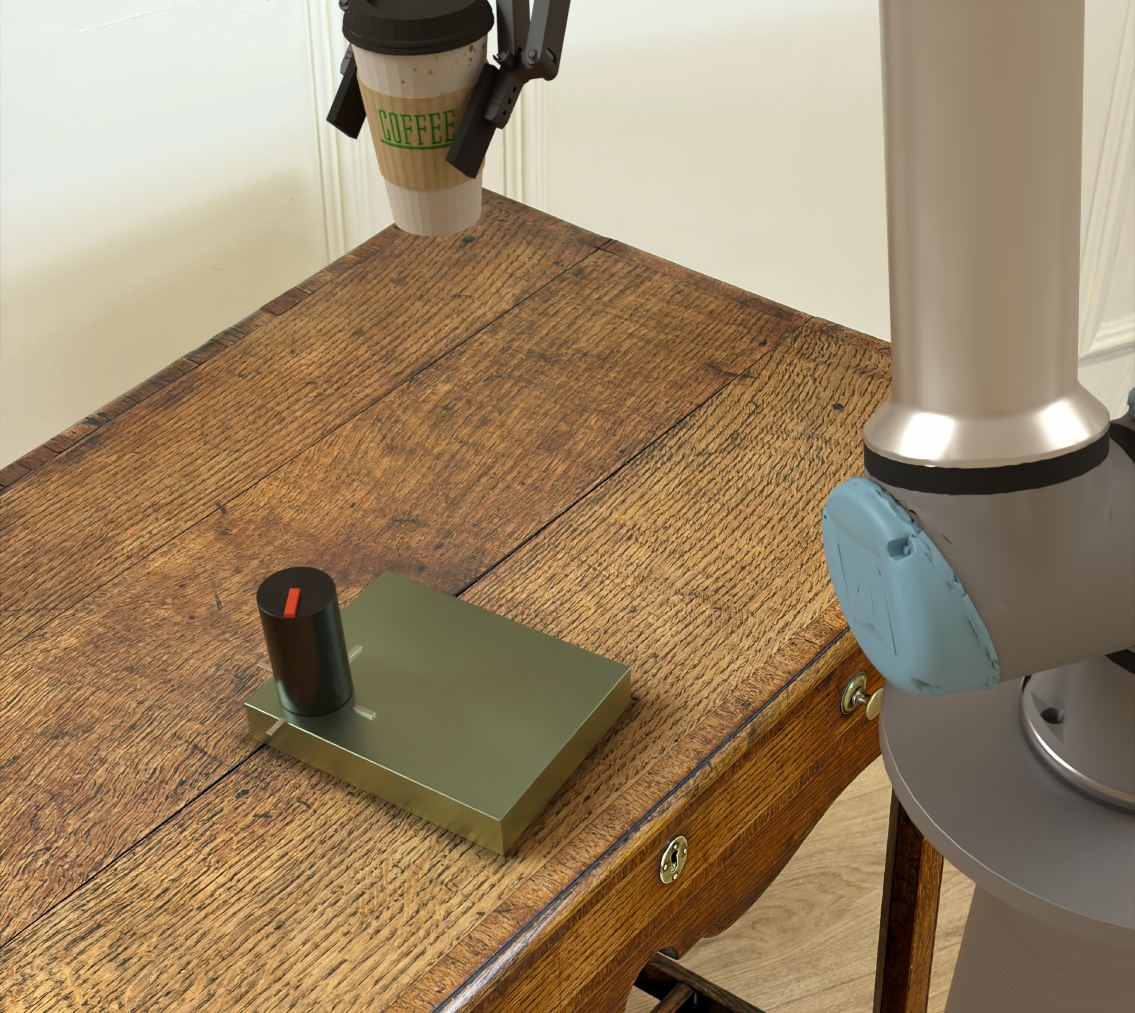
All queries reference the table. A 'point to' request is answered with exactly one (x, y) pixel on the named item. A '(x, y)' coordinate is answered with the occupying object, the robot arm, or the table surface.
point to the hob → (452, 711)
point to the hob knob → (305, 640)
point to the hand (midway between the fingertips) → (399, 149)
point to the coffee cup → (420, 102)
